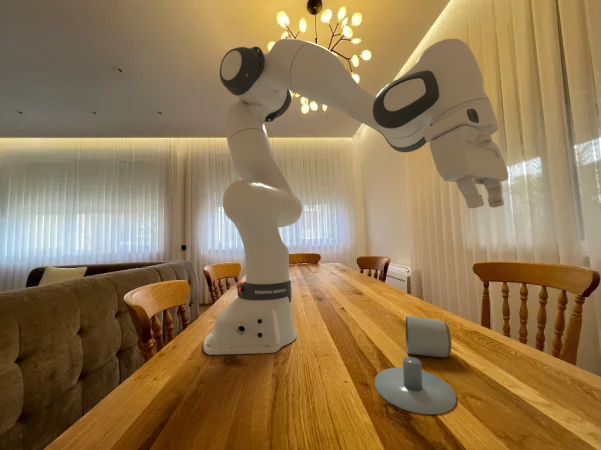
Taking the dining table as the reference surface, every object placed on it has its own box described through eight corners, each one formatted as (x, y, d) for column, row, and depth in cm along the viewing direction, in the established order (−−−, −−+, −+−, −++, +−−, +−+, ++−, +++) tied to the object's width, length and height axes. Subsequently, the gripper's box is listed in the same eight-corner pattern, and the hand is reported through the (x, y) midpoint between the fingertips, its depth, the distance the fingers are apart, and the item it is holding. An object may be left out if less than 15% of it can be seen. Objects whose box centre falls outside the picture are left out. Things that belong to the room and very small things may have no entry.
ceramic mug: (454, 365, 49) (452, 324, 49) (408, 359, 51) (407, 320, 51) (441, 343, 59) (439, 310, 59) (403, 340, 61) (401, 308, 62)
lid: (403, 423, 34) (401, 387, 34) (362, 376, 46) (361, 349, 46) (476, 409, 37) (474, 375, 37) (420, 368, 48) (419, 342, 49)
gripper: (469, 146, 53) (488, 210, 51) (417, 130, 40) (439, 213, 38) (505, 131, 48) (528, 201, 46) (459, 107, 35) (487, 201, 33)
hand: (487, 207), depth 42 cm, fingers open, 8 cm apart
